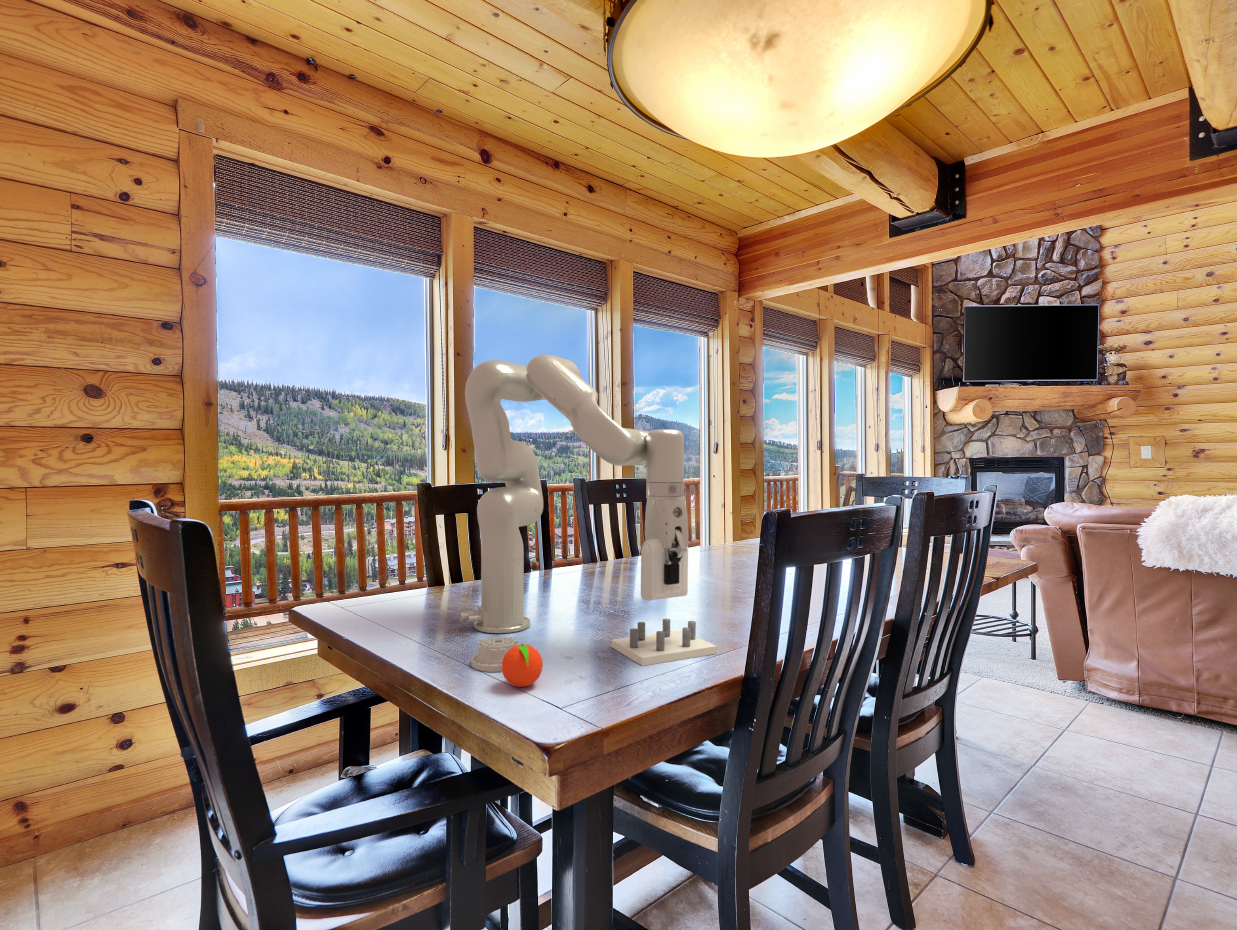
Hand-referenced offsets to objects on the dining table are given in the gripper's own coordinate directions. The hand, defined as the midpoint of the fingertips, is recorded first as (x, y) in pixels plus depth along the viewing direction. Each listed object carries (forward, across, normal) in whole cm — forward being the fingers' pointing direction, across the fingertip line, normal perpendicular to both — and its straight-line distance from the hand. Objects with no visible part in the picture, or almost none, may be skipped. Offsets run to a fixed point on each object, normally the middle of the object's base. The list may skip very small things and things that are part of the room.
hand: (664, 580), depth 130 cm
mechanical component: (+14, +7, +32) cm, 36 cm away
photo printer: (+4, 0, 0) cm, 4 cm away
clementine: (+14, -7, +32) cm, 36 cm away
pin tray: (+14, 0, 0) cm, 14 cm away
